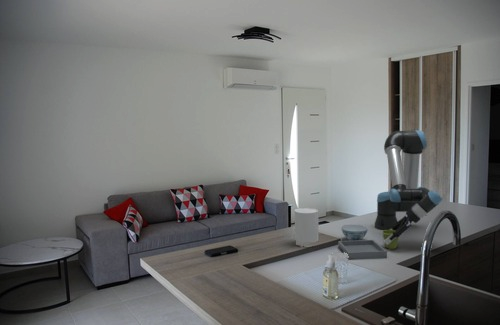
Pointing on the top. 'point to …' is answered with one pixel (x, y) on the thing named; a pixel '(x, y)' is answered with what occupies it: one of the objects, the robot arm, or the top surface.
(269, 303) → the top surface
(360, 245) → the tray
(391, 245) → the plant pot
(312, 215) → the canister
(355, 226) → the chinaware
